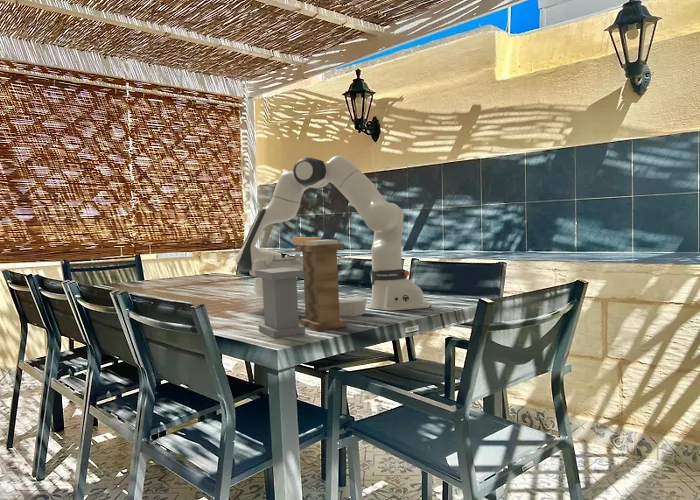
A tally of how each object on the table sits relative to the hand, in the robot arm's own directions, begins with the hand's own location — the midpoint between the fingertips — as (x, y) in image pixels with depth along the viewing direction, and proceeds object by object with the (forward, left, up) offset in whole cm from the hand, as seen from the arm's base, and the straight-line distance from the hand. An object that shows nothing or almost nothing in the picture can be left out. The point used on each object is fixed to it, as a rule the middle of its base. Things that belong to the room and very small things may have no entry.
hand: (286, 256), depth 193 cm
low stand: (-1, +30, -21) cm, 37 cm away
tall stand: (-13, +23, -21) cm, 34 cm away
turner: (-10, +18, +5) cm, 21 cm away
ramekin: (-22, +3, -22) cm, 31 cm away
